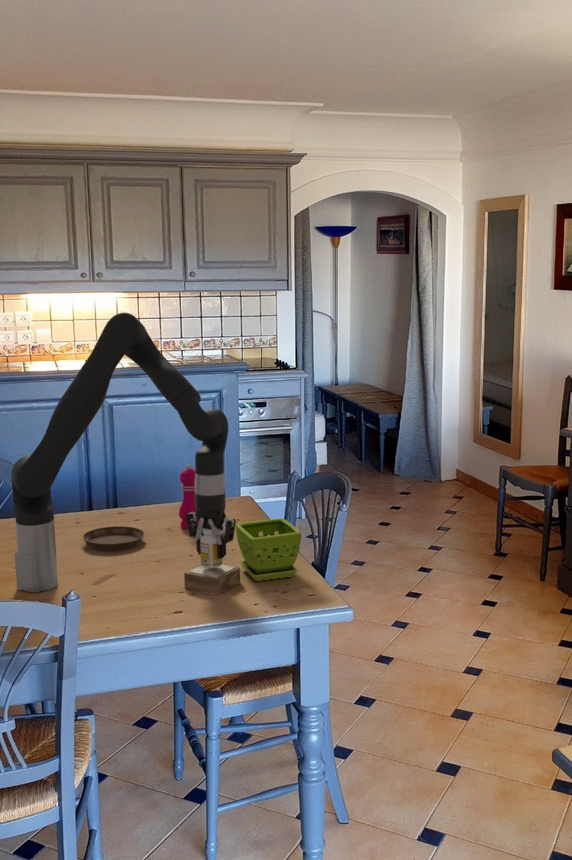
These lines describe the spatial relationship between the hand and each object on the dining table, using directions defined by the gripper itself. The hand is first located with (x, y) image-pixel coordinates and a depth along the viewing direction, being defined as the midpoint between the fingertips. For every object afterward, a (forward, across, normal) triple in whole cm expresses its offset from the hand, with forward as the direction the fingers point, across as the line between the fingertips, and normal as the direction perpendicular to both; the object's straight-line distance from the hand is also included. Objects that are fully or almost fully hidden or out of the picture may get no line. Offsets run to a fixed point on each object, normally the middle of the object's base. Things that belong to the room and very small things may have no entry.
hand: (211, 555), depth 216 cm
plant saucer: (+8, -45, +14) cm, 48 cm away
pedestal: (+8, 0, 0) cm, 8 cm away
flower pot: (+8, +8, +14) cm, 18 cm away
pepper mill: (+8, -35, +38) cm, 52 cm away
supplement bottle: (+3, 0, 0) cm, 3 cm away
